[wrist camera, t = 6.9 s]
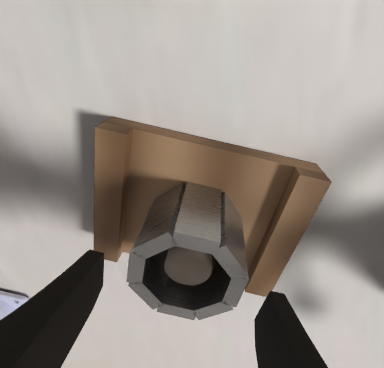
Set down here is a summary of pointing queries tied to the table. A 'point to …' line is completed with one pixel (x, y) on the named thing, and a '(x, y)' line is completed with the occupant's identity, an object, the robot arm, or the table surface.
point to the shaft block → (208, 176)
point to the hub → (195, 240)
